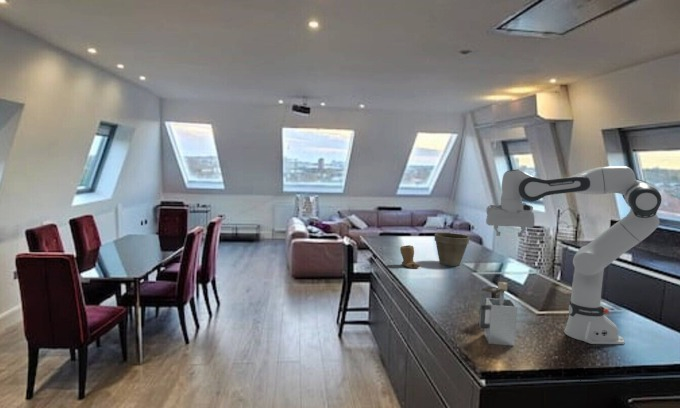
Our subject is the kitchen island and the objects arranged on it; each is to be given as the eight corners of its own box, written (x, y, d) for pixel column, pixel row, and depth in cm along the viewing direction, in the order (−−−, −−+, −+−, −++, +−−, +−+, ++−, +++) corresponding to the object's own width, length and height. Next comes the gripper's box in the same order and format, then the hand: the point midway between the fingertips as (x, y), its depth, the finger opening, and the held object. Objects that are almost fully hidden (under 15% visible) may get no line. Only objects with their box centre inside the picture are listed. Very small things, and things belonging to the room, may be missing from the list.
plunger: (506, 332, 184) (510, 280, 182) (511, 340, 176) (515, 286, 174) (487, 331, 185) (490, 279, 183) (491, 338, 177) (494, 284, 175)
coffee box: (492, 327, 195) (494, 292, 194) (478, 323, 199) (480, 289, 198) (499, 322, 202) (501, 288, 201) (485, 318, 206) (487, 285, 205)
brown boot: (397, 264, 316) (398, 243, 315) (413, 264, 318) (414, 243, 317) (404, 269, 301) (405, 247, 300) (420, 268, 303) (421, 247, 302)
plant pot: (469, 262, 329) (471, 234, 327) (465, 269, 306) (467, 239, 304) (436, 258, 339) (438, 231, 337) (429, 265, 316) (431, 235, 314)
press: (508, 336, 185) (510, 299, 184) (514, 345, 175) (517, 307, 174) (476, 333, 187) (479, 297, 185) (481, 342, 177) (483, 304, 176)
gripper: (488, 205, 192) (486, 236, 193) (536, 207, 190) (534, 238, 191) (485, 204, 198) (483, 234, 200) (532, 206, 196) (530, 236, 197)
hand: (508, 236), depth 195 cm, fingers open, 8 cm apart
